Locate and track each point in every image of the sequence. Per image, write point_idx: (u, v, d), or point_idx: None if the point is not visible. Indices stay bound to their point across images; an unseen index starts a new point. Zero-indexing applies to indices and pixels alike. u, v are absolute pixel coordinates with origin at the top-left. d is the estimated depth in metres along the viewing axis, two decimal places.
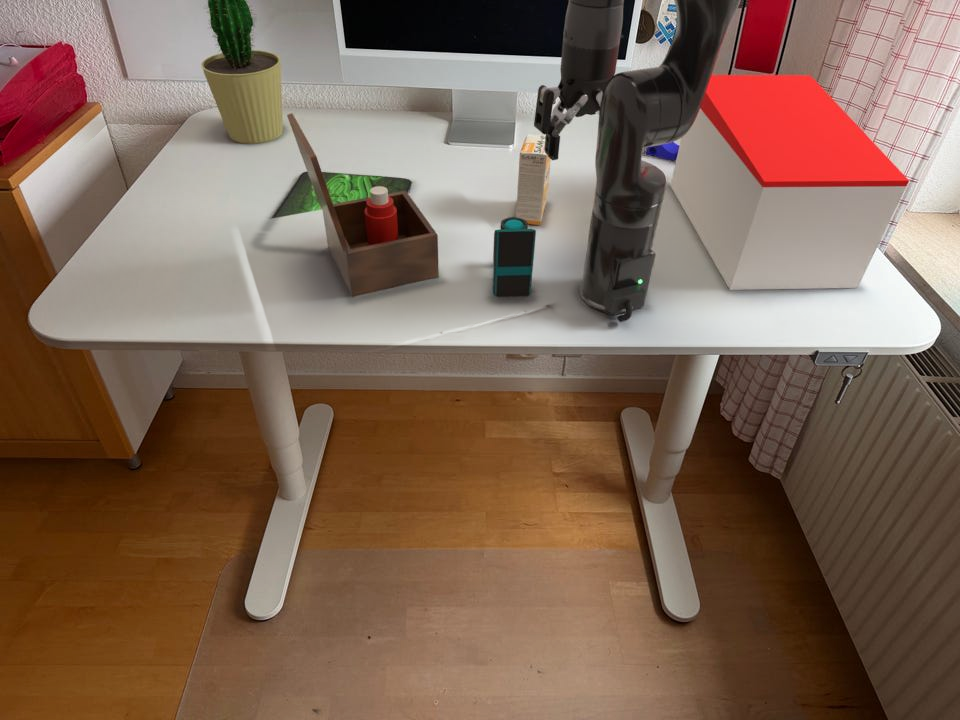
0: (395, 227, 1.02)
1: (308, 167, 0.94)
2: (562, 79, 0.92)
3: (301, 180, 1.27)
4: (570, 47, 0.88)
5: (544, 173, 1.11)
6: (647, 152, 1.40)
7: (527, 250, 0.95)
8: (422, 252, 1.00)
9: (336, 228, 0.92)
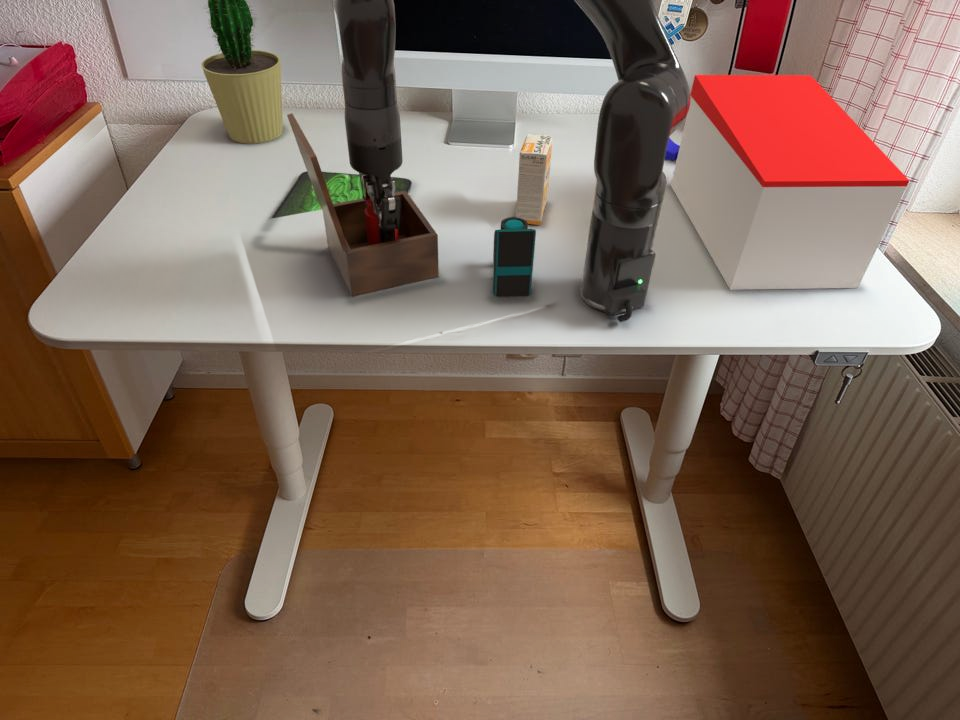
0: None
1: (308, 167, 0.94)
2: None
3: (301, 180, 1.27)
4: None
5: (544, 173, 1.11)
6: None
7: (527, 250, 0.95)
8: (422, 252, 1.00)
9: (336, 228, 0.92)
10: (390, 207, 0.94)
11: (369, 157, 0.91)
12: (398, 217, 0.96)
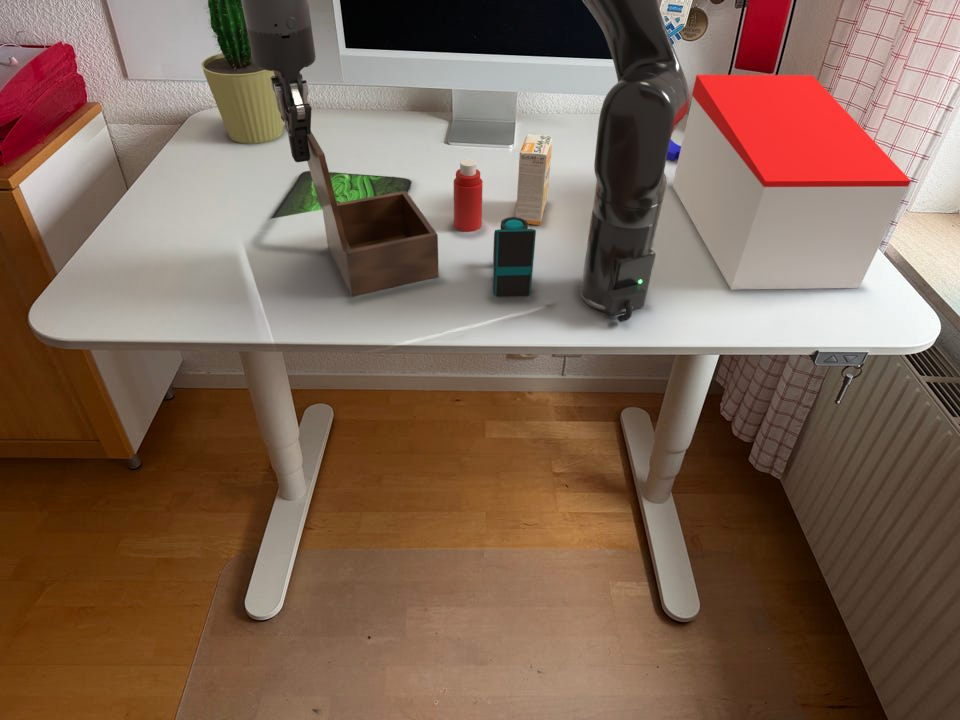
0: (481, 197, 1.11)
1: (312, 166, 0.94)
2: None
3: (301, 180, 1.27)
4: None
5: (544, 173, 1.11)
6: None
7: (527, 250, 0.95)
8: (422, 252, 1.00)
9: (338, 227, 0.92)
10: (298, 116, 0.82)
11: (271, 48, 0.78)
12: (308, 125, 0.84)
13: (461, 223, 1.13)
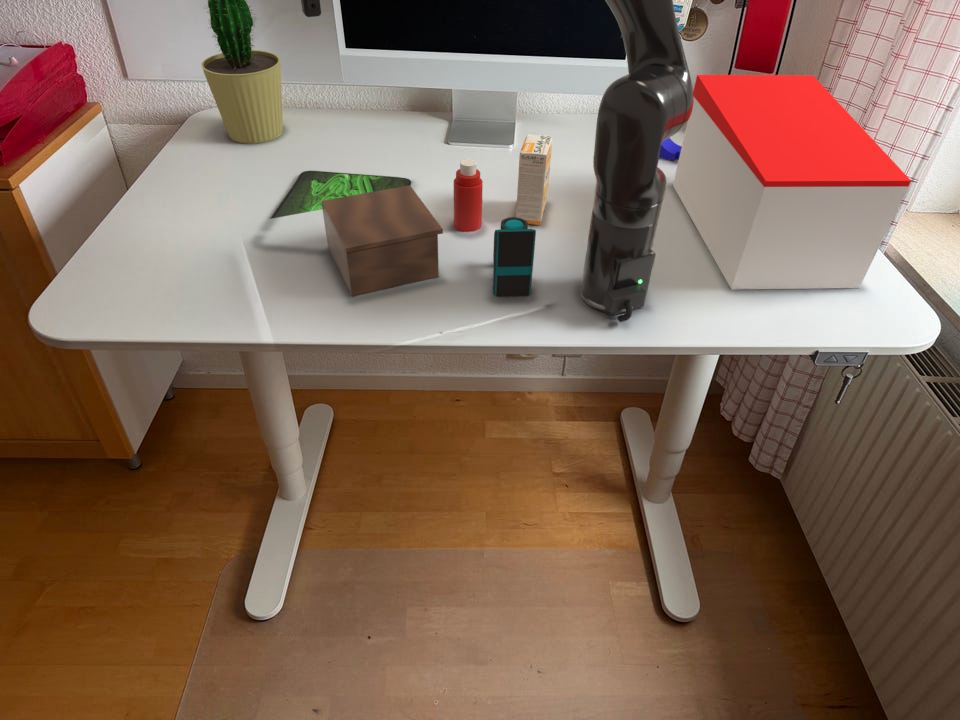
0: (481, 197, 1.11)
1: (387, 207, 1.03)
2: None
3: (301, 179, 1.27)
4: None
5: (544, 173, 1.11)
6: None
7: (527, 250, 0.95)
8: (422, 252, 1.00)
9: (372, 244, 0.95)
10: None
11: None
12: None
13: (461, 223, 1.13)
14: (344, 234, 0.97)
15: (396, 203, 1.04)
